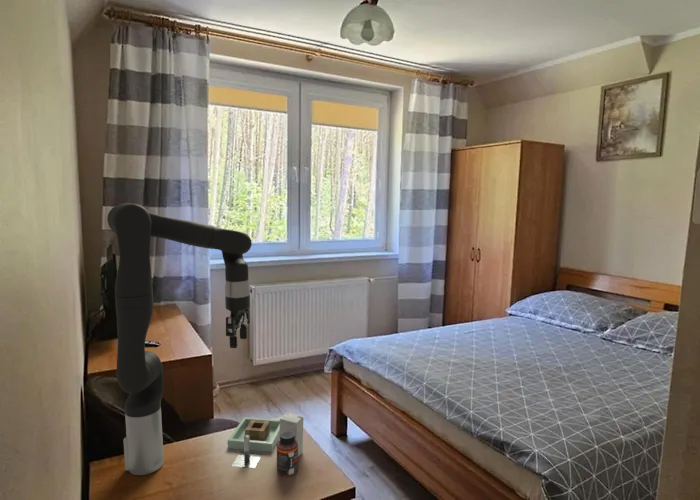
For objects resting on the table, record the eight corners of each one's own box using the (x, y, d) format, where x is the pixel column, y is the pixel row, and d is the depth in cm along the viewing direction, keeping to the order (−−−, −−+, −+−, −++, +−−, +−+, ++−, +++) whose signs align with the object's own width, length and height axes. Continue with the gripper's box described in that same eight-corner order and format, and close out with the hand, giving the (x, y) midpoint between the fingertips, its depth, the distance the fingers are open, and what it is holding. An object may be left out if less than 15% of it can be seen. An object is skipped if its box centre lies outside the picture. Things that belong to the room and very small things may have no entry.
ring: (263, 443, 140) (263, 431, 140) (242, 441, 141) (241, 429, 140) (269, 432, 146) (269, 421, 145) (248, 431, 147) (248, 419, 146)
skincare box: (278, 456, 134) (278, 418, 133) (286, 448, 138) (286, 411, 137) (296, 461, 132) (296, 423, 130) (304, 453, 136) (303, 416, 134)
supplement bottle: (297, 478, 124) (297, 440, 123) (276, 479, 124) (275, 441, 122) (298, 465, 130) (298, 428, 129) (278, 465, 130) (277, 429, 128)
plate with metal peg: (231, 467, 129) (230, 441, 128) (240, 453, 136) (239, 428, 134) (254, 470, 128) (254, 443, 127) (262, 455, 135) (262, 430, 134)
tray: (227, 449, 138) (227, 440, 137) (244, 425, 151) (244, 417, 151) (272, 453, 136) (272, 443, 135) (284, 428, 150) (284, 420, 149)
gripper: (240, 299, 134) (241, 351, 137) (256, 289, 148) (257, 336, 151) (216, 298, 135) (218, 350, 138) (234, 288, 149) (235, 335, 152)
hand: (238, 343), depth 144 cm, fingers open, 8 cm apart
